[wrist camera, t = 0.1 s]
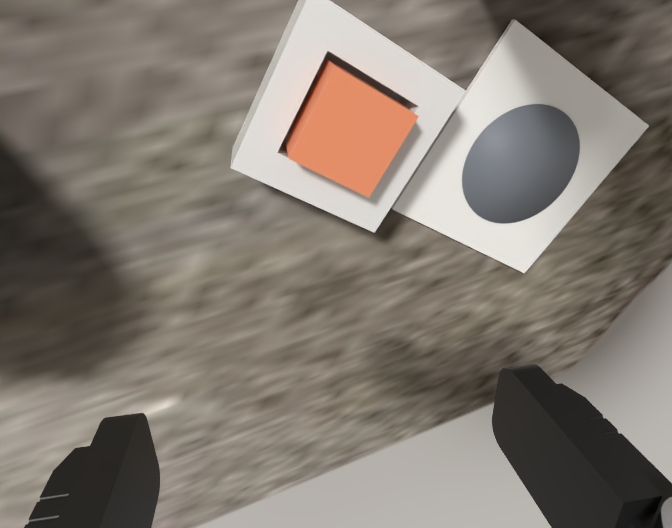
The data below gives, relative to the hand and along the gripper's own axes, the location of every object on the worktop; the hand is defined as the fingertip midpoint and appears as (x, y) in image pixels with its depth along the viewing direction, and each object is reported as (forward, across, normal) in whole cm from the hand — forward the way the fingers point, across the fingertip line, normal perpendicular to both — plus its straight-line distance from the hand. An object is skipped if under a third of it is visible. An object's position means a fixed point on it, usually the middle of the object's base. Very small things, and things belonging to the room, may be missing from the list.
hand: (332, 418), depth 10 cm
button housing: (+22, -4, -5) cm, 23 cm away
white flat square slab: (+22, -18, 0) cm, 29 cm away
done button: (+19, -4, -4) cm, 20 cm away
